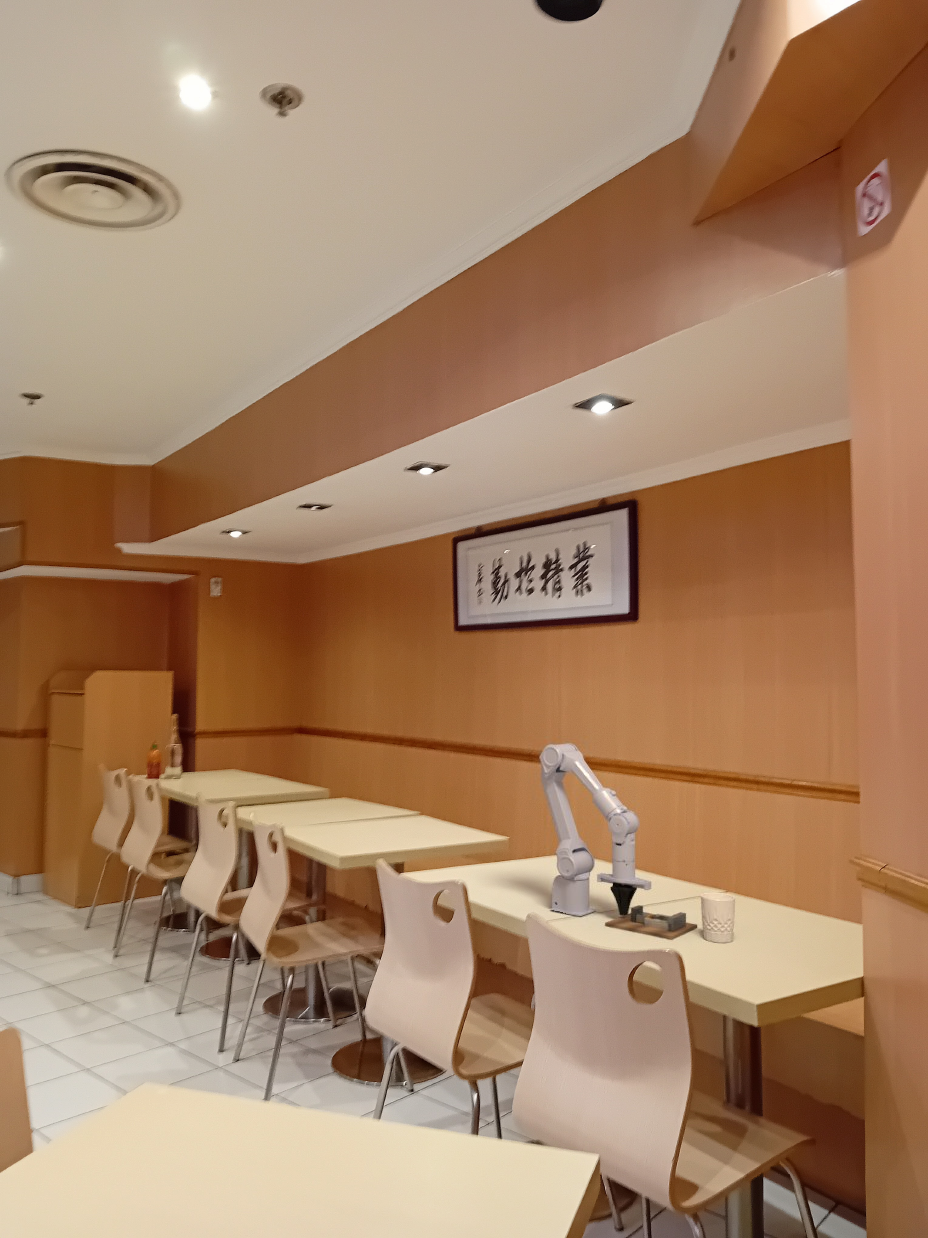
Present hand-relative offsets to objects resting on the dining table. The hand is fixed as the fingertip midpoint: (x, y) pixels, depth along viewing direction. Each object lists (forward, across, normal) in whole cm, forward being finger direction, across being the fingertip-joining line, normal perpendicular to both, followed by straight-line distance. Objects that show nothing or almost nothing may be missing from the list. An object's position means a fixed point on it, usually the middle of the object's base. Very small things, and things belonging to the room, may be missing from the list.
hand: (623, 914), depth 229 cm
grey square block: (+1, -6, +1) cm, 6 cm away
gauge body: (+1, -12, 0) cm, 12 cm away
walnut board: (+2, -8, 0) cm, 8 cm away
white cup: (+2, -25, -1) cm, 25 cm away
